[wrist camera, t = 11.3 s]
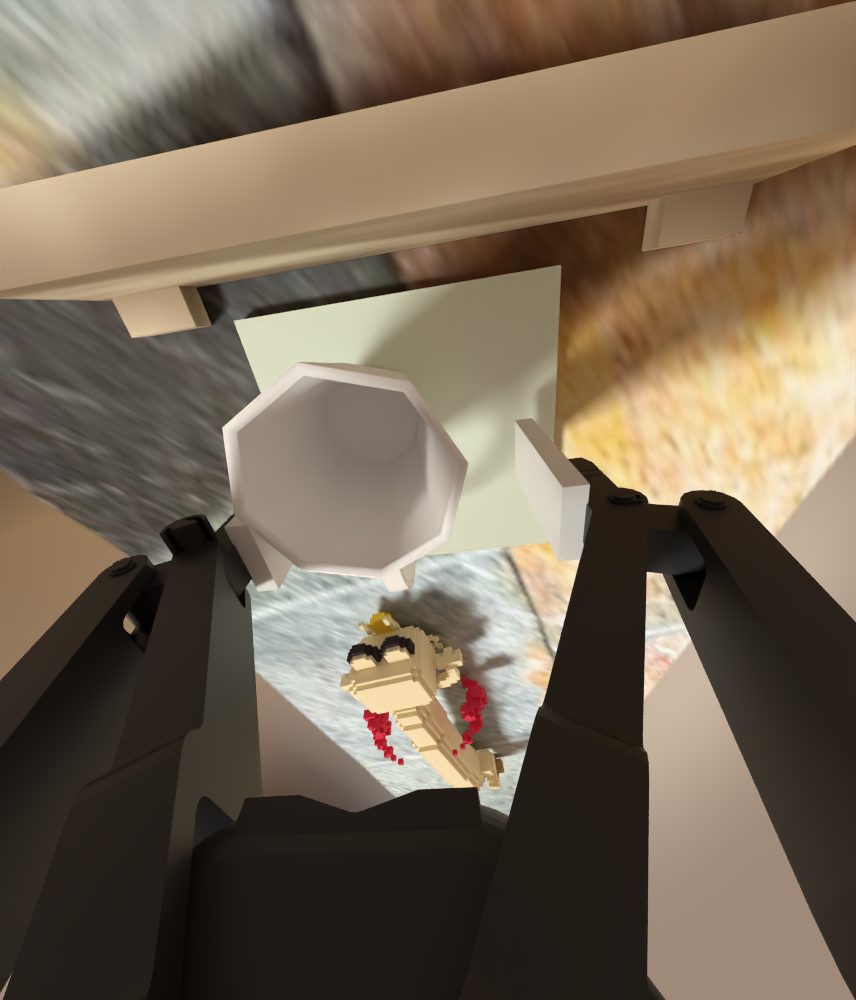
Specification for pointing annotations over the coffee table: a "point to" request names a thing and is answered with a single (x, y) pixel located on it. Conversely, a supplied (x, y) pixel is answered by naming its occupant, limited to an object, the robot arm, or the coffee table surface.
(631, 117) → the wooden plank with feet
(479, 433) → the board
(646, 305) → the coffee table surface
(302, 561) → the cup
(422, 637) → the beige blocky creature toy
